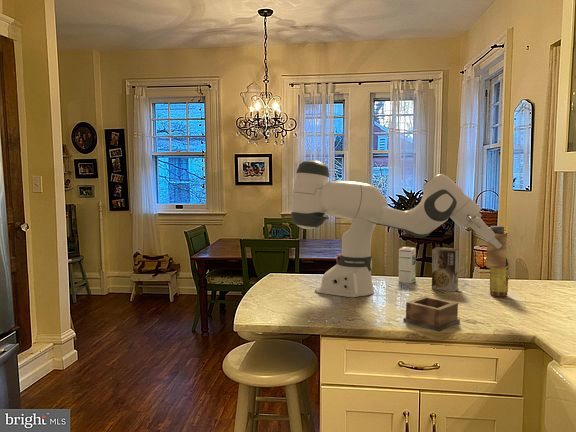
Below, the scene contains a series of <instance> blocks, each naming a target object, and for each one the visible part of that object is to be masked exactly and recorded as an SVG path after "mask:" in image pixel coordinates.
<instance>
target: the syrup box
mask: <svg viewBox="0 0 576 432" xmlns="http://www.w3.org/2000/svg"><path fill="white" fill-rule="evenodd" d="M416 251H417V248H416V247H412V246H403V247H400V248H399V249H398V282H399V283H404V284H413V283H414V282H416V277H417V276H416V275H417V274H416V271H417V269H416V267H417V265H416V263H417V261H416V259H417V257H416V256H417V252H416Z"/></svg>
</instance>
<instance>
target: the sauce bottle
mask: <svg viewBox="0 0 576 432" xmlns="http://www.w3.org/2000/svg"><path fill="white" fill-rule="evenodd" d="M509 267H510V266H509V262H508V258H507V257H506V265H505V269H496V268H489V273H490V274H489V293H490V295H491V296H492V297H496V298H497V297H501V298H502V297H503V298H504V297H507V296H508V292H509V269H510V268H509Z"/></svg>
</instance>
